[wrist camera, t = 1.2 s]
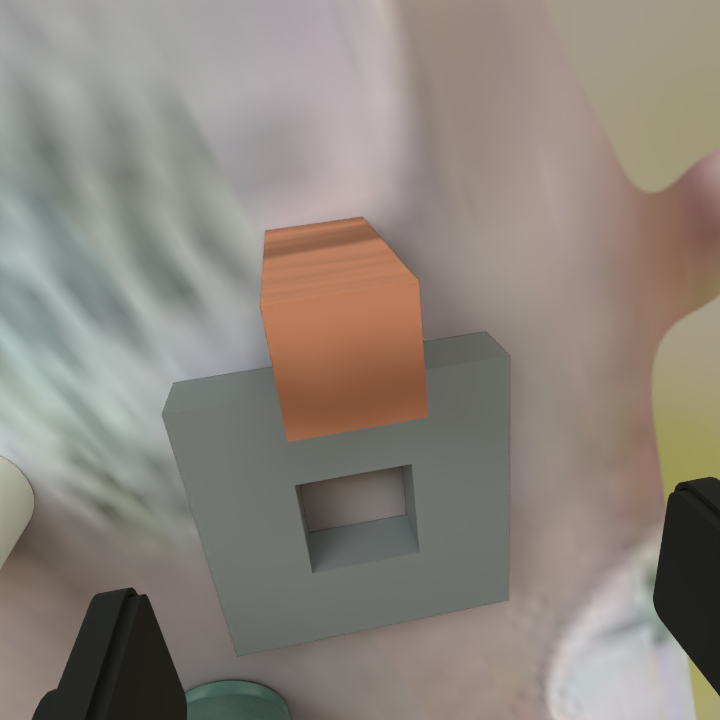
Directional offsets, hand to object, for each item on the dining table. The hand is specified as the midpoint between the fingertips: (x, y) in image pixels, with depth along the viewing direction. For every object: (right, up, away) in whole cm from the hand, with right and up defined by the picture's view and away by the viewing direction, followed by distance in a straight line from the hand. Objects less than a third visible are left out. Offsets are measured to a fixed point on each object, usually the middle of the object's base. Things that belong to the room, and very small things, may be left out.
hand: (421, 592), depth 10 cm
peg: (-3, +9, +19) cm, 21 cm away
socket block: (-2, -4, +25) cm, 25 cm away
